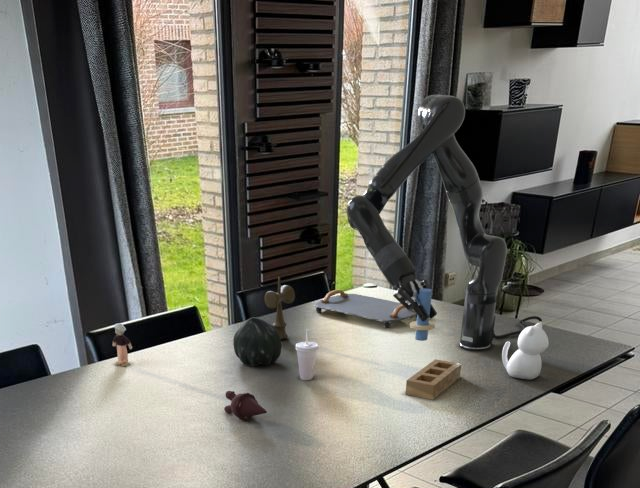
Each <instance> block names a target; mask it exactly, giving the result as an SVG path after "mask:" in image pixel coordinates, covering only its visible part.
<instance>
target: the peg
mask: <svg viewBox="0 0 640 488" xmlns="http://www.w3.org/2000/svg"><path fill="white" fill-rule="evenodd" d="M418 295H419V301H420V303H421V305H422V306H423V307H424V309H425V310H426V312H427V313H428V315H429V317H430V306H431V305H432V299H431V296H433V289H431V288H430V289H426V288H425V289H420V290H419V294H418ZM421 305H420V306H421ZM409 327H410V328H411V329H413V330H415V337H414V339H415V340H416V341H420V342H423V341H427V340H428V336H429V331H431V330H434V329H435V328H436V323H435V322H433V321H430V318H428V319H427V320H426V321H424V322H423V321H422V320H421V319H420V318H419V316H418V315H417V317H416V320H414V321H411V322H410V324H409Z"/></svg>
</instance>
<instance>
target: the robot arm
mask: <svg viewBox="0 0 640 488" xmlns="http://www.w3.org/2000/svg"><path fill="white" fill-rule="evenodd" d="M465 116H466V107H465V104H464V102H463V101H462V100H461V98H459V97H457V96H454V95H447V94H446V95H445V94H431V95H428V96H426V97H425V98H424V99H423V100H422V101H421V103H420V105H419V107H418V112H417V120H418V125H419V127H420V131H421V132H420V133H419V134H418V135H417V136H416V137H415V138H414V139H413V140H412V141H410V142H409V143H407V145H405V146H404V147H403V148H401V149H400V150H398V151H397V152H396V153H394V154H393V155H392V156H391V157H389V159H388V160H386V162H384V163H383V165H382V166H381V167H380V168H379V170H378V171H377V172H376V173H375V174H374V175H373V176H372V178H371V180H370V181H369V183H368V186H367V188H366V191H365V192H364V193H363V194H362V195H355V196H354V197H352V198H351V199H350V200H349V201H348V203H347V206H346V216H347V222H348V224H349V226H350V227H351V228H352V229H353V230H354V231H357V232H358V233H359V234H360V236H361V237H362V240H363V243H364V245H365V247H366V249H367V251H368V252H369V253H370V255H371V256H372V258H373V260H374V261H375V264H376V266H377V267H378V269H379V270H380V271H381V274H382V275H383V277H384V278H385V279H386V281H387V282H388V284H389V285H390V287H392V288H396V291H395V292H394V293H393V294H392V296H393V298H394V299H396V300H397V302H398V303H401V304H402V305H403V306H404V307H405V308H406V309H407V310H410V309H412V310H413V311H415V312H416V313H417V315H418V316H419V318H420V319H421V320H422V321H423V322H424V321H426V320H427V319H428V318H429V319H433V318H435V317H436V316H437V315H438V313H437V310H436V309H435V308H434V306H433V304H431V306H430V317H429V315H428V313H427V312H426V310H425V309H424V307H423V306H422V305H421V303H420V301H419V290H420V289H425V288H426V289H431V288H430V285H429V282H428V281H427V279H423V280H419V278H418V277H417V276H415V273H416V267H415V266H414V264H413V262H412V261H411V260H410V258H409V257H408V255H407V253H406V252H405V251H404V249H403V248H402V246H400V244H399V243H398V242H397V241H396V239H395V238H394V236H393V235H392V233H391V232H390V231H389V229H388V228H387V226H386V225H385V223H384V221H383V219H382V217H381V215H380V214H381V213H382V211H383V210H384V208H385V206H386V204H387V203H388V202H389V200H390V199H392V197H393V196H394V195H395V194H396V193H397V191H398V190H399V189H400V188H401V187H402V186H403V184H404V183H405V182H406V181H407V179H408V178H409V177H410V176H411V175H412V174H413V172H415V171H416V169H418V167H420V166H421V164H423V163H424V161H425V160H427V159H428V158H429V157H430V156H431V155H433V158H434V161H435V165H436V167H437V171H438V173H439V175H440V178H441V182H442V184H443V187H444V191H445V194H446V196H447V199H448V202H449V204H450V207H451V210H452V213H453V216H454V219H455V222H456V225H457V228H458V233H459V236H460V240H461V245H462V251H463V254H464V257H465V260H466V261H467V262H468V263H469V264H470V265H471V266H474V267H477V268H479V270H478V274H477V277H474V278H471V279H469V280H467V282H466V287H465V289H466V290H465V296H464V305H463V313H462V321H461V329H460V338H459V342H458V343H459V344H458V346H459V347H460V348H461V349H464V350H467V351H475V352H480V351H486V350H489V349H490V348H491V346H492V345H493V344H492V343H493V341H494V339H504V338H507V337H511V336H514V335H518V334H519V335H520V333H521V332H522V331H523V330H524V329H525V328H526V327H527V326H526V325H524V324H522V323H525V322H527V321H530V320H538V321H539V322H542V321H543V319H542V318H541V317H540V316H537V315H532V316H531V315H530V316H527V317H525V318H523V319H520V320H521V321H520V320H519V321H518V322H517V325H518V326H519V327H520V328H522V329H520V330H516V331H515V330H514V331H511V332H507V333H505V334H504V333H503V334H501V335H497V334H495V323H496V314H495V311H496V306H497V298H498V291H499V286H500V284H501V283H502V280H503V277H504V276H503V274H504V270H505V267H506V260H507V254H508V252H507V251H508V247H507V243H506V241H505V239H504V238H502V237H500V236H496V235H492V234H487V233H486V232H485V230H484V227H483V225H482V221H481V218H480V212H481V211H480V210H481V207H482V203H483V195H484V193H483V187H482V183H481V181H480V177H479V173H478V171H477V169H476V167H475V165H474V163H473V162H472V161H471V159H470V158H469V157H468V155H467V154H466V153H465V151H464V150H463V149H462V147H461V146H460V144H459V143H458V141H457V139H456V136H455V133H457V131H458V130H459V129H460V127H462V125H463V122H464V120H465ZM433 298H434V296H433V295H432V296H431V300H432V299H433ZM408 304H409V305H408ZM420 305H421V306H420ZM522 321H523V322H522Z"/></svg>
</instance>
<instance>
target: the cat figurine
mask: <svg viewBox="0 0 640 488" xmlns="http://www.w3.org/2000/svg"><path fill="white" fill-rule="evenodd" d="M525 327H526V328H525V329H524V330H523V331H522V332H521V333H519V335H518V338H517V348H518V349H517V350H516V351H515V352H514V353H513V354H512V355H511V356H510V358H509V359H508V352H509V349H510V346H511V342H510V340H509V341H506V342H505V343H504V345H503V347H502V351H501V359H502V365H503V367H504V368H505V370H506V373H507V375H509V376H510V377H512V378H516V379H522V380H528V381H529V380H534V379H536V378H537V377H538V376H539V375H540V374H541V371H542V365H543V361H542V357H541V354H542V353H544V352H545V351H546V350H547V349H548V348H549V343H550V342H549V337H548V335H547V333H546V331H545V330H544V329H543V322H542V321H539V322H537V323H536V324H535V325H530V326H525Z"/></svg>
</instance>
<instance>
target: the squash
mask: <svg viewBox="0 0 640 488" xmlns="http://www.w3.org/2000/svg"><path fill="white" fill-rule="evenodd" d="M232 343H233V344H232V345H233V349H234V354H235V355H236V357H237V358H238V359H239V360H240V362H241V363H242V364H243V365H245V366H253V367H258V366H259V365H263V366H268V365H269V364H273V363H274V362H276V361H277V360H278V359H279V357H280V356H281V353H282V344H283V343H282V340H281V338H280V335H279V332H278V330H277V329H276V328H275V327H274V326H273V324H271V323H269V322H268V321H266V320H264V319H262V318H259V317H255V316H253V317H250V318H248V319H247V320H246V321H245V322H243V323H242V324H240V327H238V328H237V330H236V332H235V334H234V336H233V341H232Z"/></svg>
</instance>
